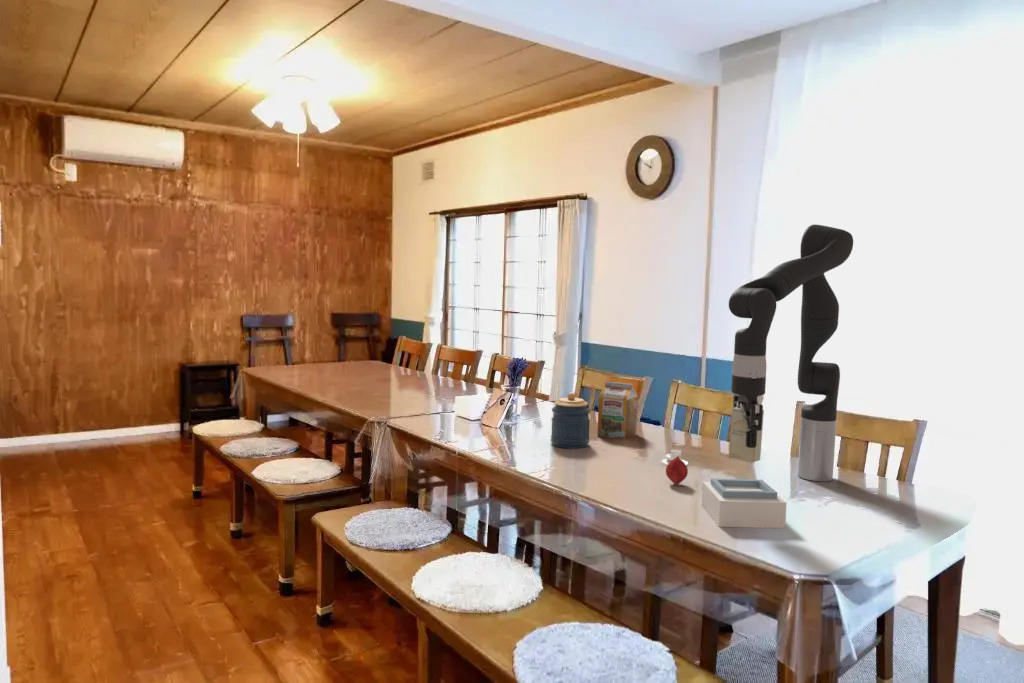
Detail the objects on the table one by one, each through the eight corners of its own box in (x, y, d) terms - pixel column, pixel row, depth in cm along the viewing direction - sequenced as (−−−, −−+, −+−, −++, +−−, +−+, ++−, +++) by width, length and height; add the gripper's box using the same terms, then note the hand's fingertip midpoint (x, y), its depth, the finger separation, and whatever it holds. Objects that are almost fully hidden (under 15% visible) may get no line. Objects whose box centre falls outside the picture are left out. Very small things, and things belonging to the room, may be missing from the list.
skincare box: (728, 458, 164) (730, 407, 163) (736, 455, 168) (738, 405, 166) (753, 463, 160) (756, 411, 159) (761, 460, 163) (764, 409, 162)
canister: (594, 448, 229) (596, 395, 228) (557, 449, 226) (558, 396, 225) (581, 439, 242) (583, 389, 240) (546, 440, 239) (547, 390, 237)
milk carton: (636, 434, 252) (638, 382, 250) (625, 439, 243) (627, 385, 241) (609, 430, 257) (610, 379, 255) (597, 435, 248) (599, 383, 246)
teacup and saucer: (664, 458, 219) (665, 445, 219) (690, 461, 216) (691, 448, 216) (659, 465, 211) (660, 452, 211) (686, 468, 208) (686, 455, 208)
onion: (661, 482, 192) (662, 454, 191) (678, 480, 194) (679, 452, 193) (673, 488, 186) (675, 459, 186) (691, 486, 188) (692, 457, 188)
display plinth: (701, 505, 173) (703, 475, 172) (762, 506, 172) (763, 477, 172) (718, 526, 158) (720, 494, 157) (785, 528, 157) (786, 495, 157)
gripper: (723, 369, 169) (720, 436, 171) (742, 377, 155) (739, 450, 156) (754, 370, 169) (751, 436, 171) (776, 378, 155) (772, 451, 156)
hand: (745, 443), depth 163 cm, fingers closed on skincare box, 7 cm apart
